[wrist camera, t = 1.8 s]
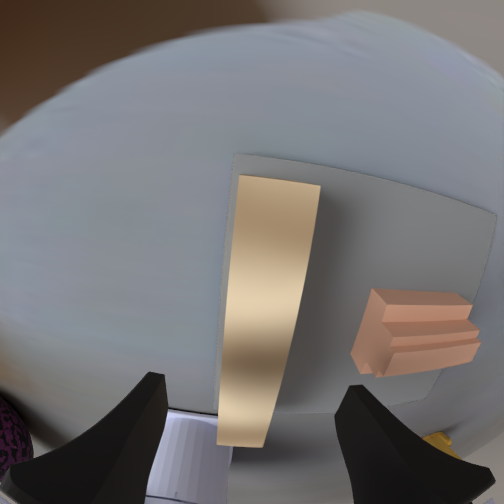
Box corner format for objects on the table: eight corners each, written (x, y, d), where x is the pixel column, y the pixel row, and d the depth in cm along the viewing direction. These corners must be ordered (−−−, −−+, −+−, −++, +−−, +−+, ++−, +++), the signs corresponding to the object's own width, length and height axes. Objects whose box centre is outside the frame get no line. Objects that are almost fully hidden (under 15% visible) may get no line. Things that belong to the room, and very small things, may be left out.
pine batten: (260, 406, 18) (262, 447, 14) (220, 403, 18) (216, 444, 14) (300, 181, 13) (320, 185, 10) (241, 173, 13) (239, 175, 9)
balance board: (420, 391, 20) (444, 428, 15) (214, 399, 19) (208, 455, 14) (487, 212, 15) (536, 229, 10) (234, 154, 14) (227, 145, 9)
